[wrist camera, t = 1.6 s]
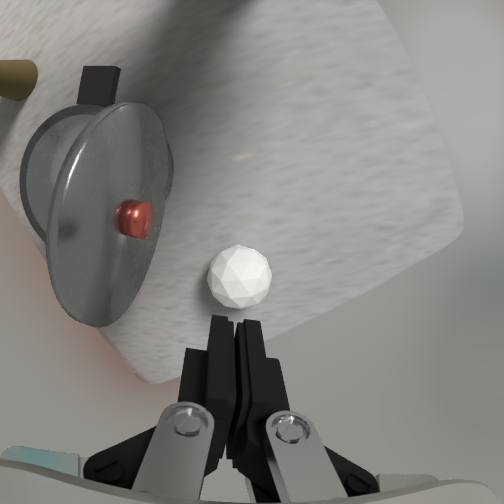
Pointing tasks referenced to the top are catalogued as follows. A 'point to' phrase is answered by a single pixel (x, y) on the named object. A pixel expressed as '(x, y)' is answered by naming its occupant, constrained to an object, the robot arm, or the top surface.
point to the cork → (17, 78)
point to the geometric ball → (239, 277)
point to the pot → (65, 143)
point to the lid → (107, 212)
